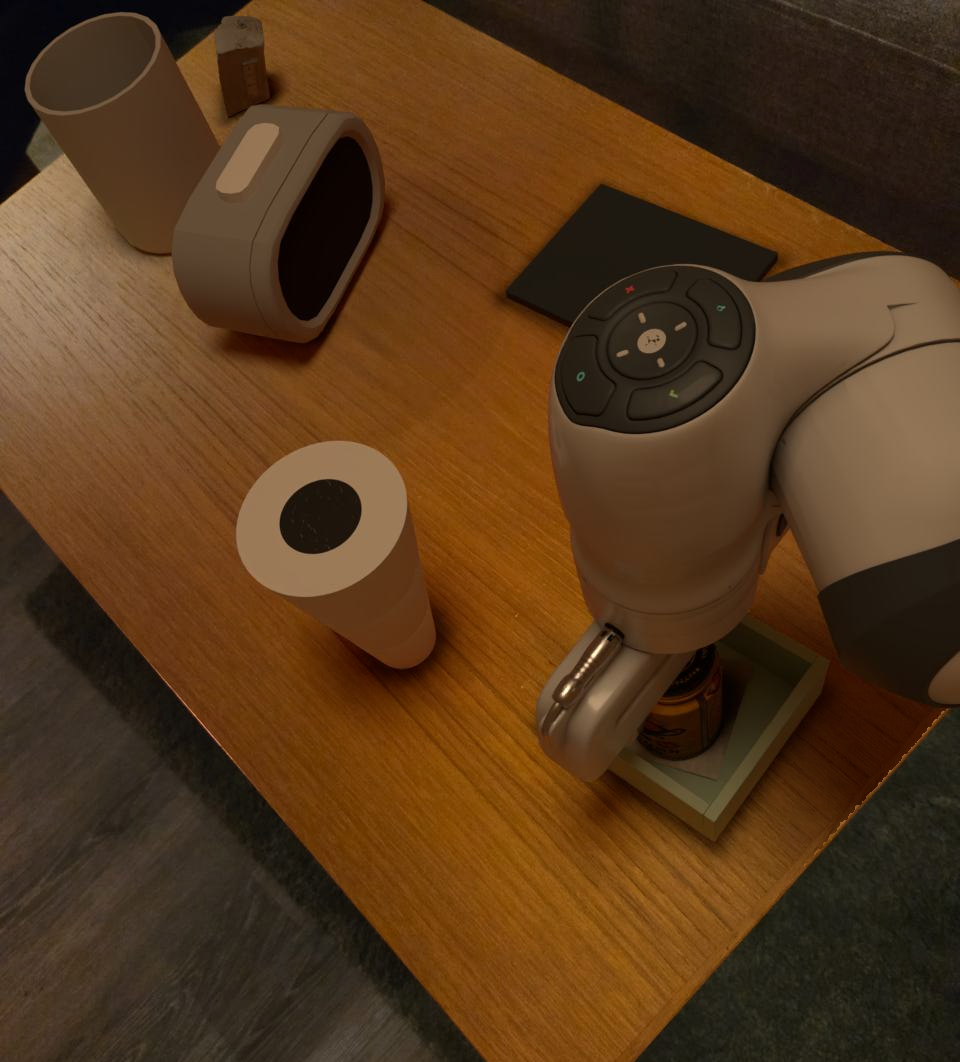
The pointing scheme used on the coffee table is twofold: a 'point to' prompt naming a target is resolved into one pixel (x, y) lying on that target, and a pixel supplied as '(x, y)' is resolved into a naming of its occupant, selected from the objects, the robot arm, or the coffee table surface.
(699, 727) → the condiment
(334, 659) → the coffee table surface
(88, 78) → the cup
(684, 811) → the tray
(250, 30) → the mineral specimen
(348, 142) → the alarm clock
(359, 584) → the cup
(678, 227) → the mat
